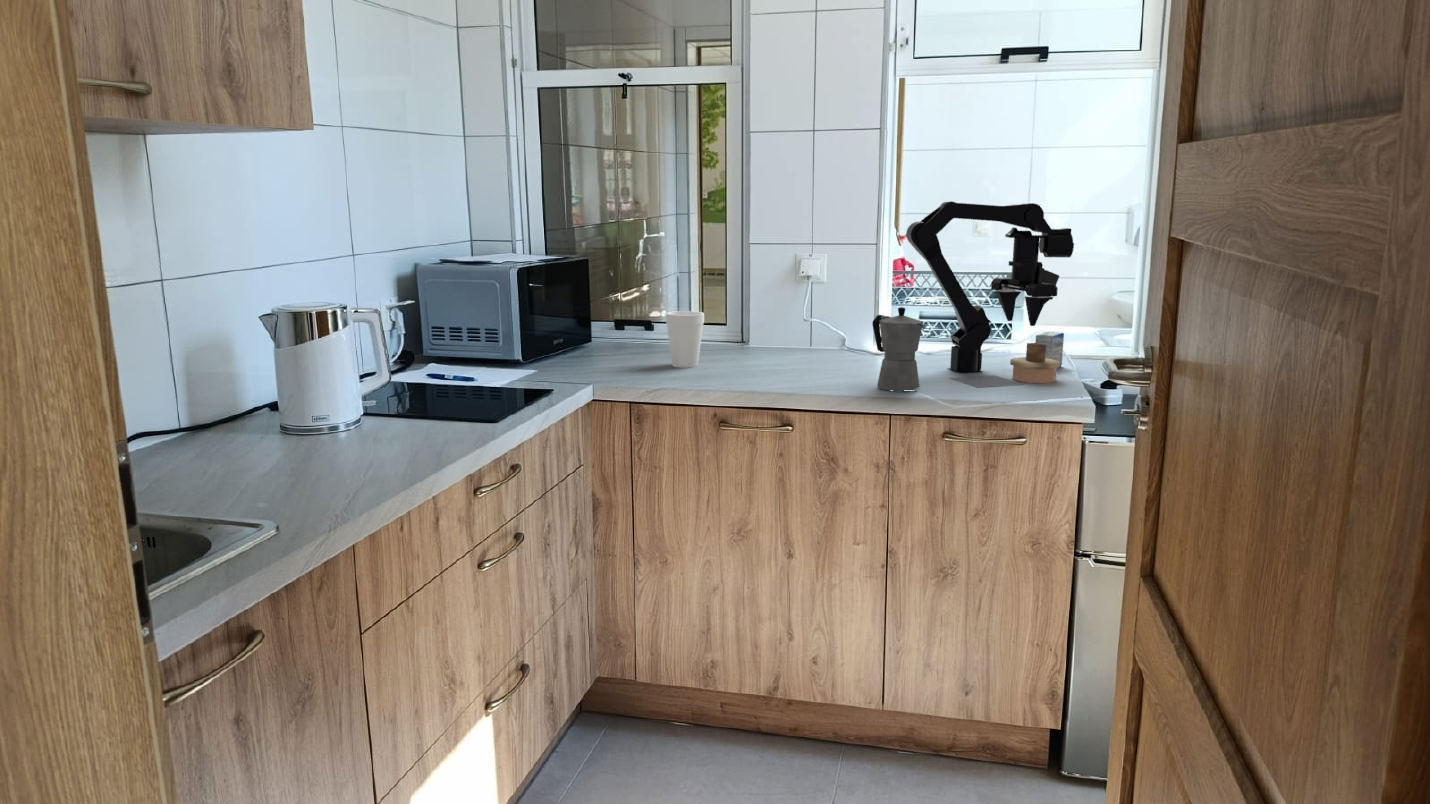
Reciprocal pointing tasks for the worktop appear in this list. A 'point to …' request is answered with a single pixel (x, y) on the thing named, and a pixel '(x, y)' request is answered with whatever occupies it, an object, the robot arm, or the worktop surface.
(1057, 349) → the medicine box
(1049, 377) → the bowl
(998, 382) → the mat
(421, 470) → the worktop surface
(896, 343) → the coffeepot
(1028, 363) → the lid
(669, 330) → the foam cup
